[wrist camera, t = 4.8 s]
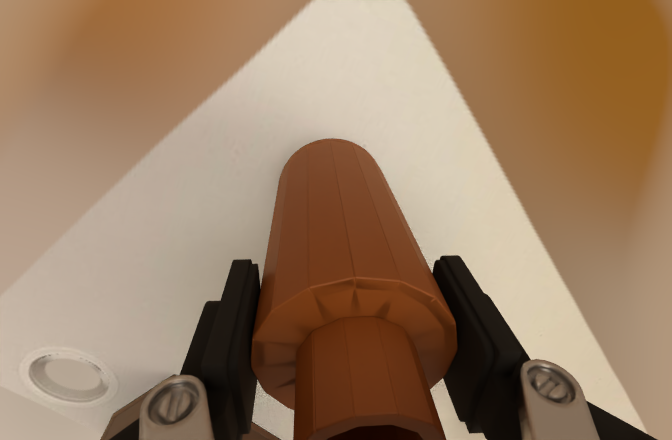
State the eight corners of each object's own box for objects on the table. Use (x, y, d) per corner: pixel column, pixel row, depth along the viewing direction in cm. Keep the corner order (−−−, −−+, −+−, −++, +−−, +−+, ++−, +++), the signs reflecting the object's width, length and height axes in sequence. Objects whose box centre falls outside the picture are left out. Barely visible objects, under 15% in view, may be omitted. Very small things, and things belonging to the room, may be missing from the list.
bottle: (261, 206, 19) (191, 495, 8) (312, 117, 17) (323, 332, 5) (346, 246, 21) (396, 531, 9) (402, 171, 19) (559, 420, 7)
